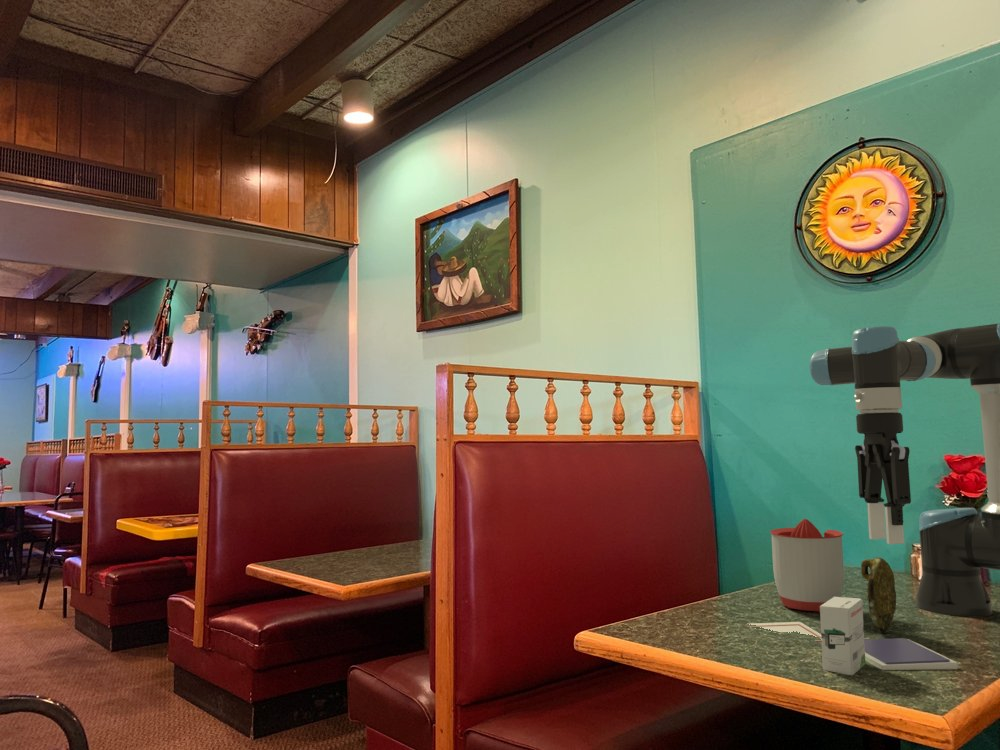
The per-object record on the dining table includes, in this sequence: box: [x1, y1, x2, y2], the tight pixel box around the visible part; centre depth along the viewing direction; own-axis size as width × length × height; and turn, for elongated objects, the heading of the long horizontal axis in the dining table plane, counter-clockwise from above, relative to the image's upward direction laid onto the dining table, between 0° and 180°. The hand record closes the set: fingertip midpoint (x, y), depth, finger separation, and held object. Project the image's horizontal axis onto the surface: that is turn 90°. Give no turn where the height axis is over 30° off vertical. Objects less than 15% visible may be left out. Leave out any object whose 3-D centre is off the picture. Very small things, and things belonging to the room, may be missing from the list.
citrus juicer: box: [769, 518, 845, 613], centre depth 170 cm, size 16×17×20 cm
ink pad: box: [864, 637, 959, 671], centre depth 131 cm, size 13×14×2 cm
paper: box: [746, 621, 822, 642], centre depth 147 cm, size 16×16×1 cm
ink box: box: [819, 596, 866, 676], centre depth 125 cm, size 9×5×12 cm, turn 140°
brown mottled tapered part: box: [860, 557, 897, 634], centre depth 148 cm, size 9×5×15 cm, turn 132°
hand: (886, 540), depth 133 cm, fingers open, 5 cm apart
